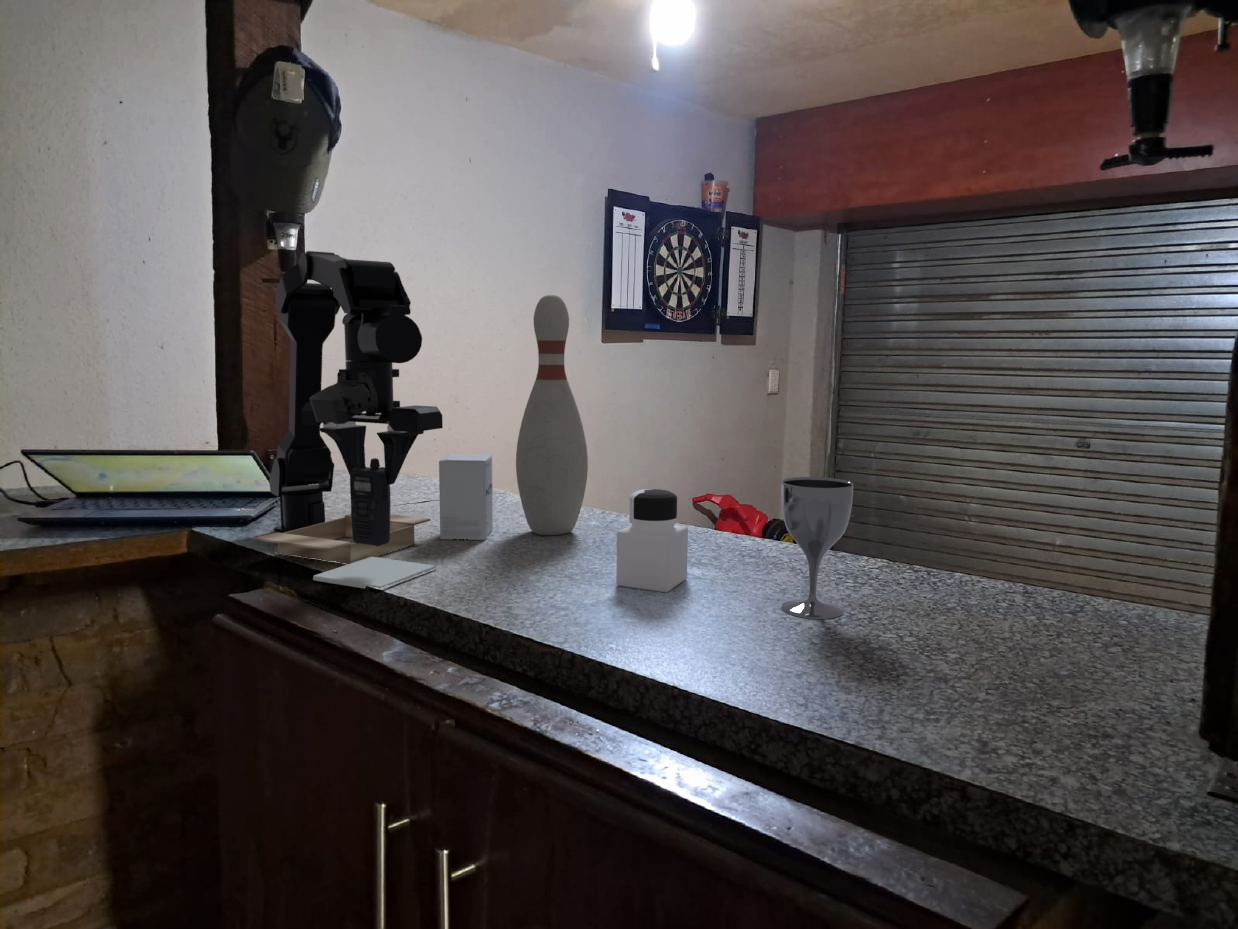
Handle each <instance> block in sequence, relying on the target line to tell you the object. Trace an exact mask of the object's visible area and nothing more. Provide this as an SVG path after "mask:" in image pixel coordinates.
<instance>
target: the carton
mask: <svg viewBox="0 0 1238 929" xmlns="http://www.w3.org/2000/svg"><path fill="white" fill-rule="evenodd" d="M431 520H432V519H431V518H428V517H427V518H426V517H418V516H410V515H400V514H393V513H390V541H389V542H388V543H387V544H383V545H380V546H375V545H367V544H360V543H358V544H356V543H354V542H352V543H351V541H345V540H344V541H343V540H338V539H341V538H344V537H348V538H353V536H352V519H351V513H349V514H345V515H344V516H343V517H340V518H336V519H332V520H328V521H325V522H324V523H320V524H316V525H312V526H308V527H304V528H300V529H296V530H292V531H288V532H280V531H275V532H273V533H269V534H265V535H261V536H256V537H254V541H258V542H260V541H261V542H265V543H273V544H277V554H278V553H281V554H286V555H297V556H301V557H307V558H316V559H321V560H326V561H336V562H340V563H346V564H351V563H354V562H357V561H360V560H363V559H366V558H369V557H377V556H379V557H381V556H380V555H382V556H385V555H387V554H386V553H388V554H390V553H389V552H391V551H394V552H397V551H399V550H398V549H400V550H402V549H401V548H404V549H407V548H409V547H408V546H410V545H413V544H415V526H417V525H421V524H424V523H428V522H430V521H431ZM340 537H341V538H340ZM337 538H338V539H337ZM415 545H416V544H415ZM413 546H414V545H413ZM406 547H407V548H406ZM410 547H411V546H410ZM396 550H397V551H396ZM391 553H392V552H391ZM384 554H385V555H384Z"/></svg>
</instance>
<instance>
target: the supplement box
mask: <svg viewBox="0 0 1238 929" xmlns="http://www.w3.org/2000/svg"><path fill="white" fill-rule="evenodd" d="M438 475H439V476H438V478H439V480H438V481H439V485H438V486H439V487H438V488H439V533H440V534H439V539H440V540H453V539H457V540H458V541H459V539H461V540H460V541H485V540H486V539H487V537H488V536H489V534H490V533H491V532H492V531H493V530H494V528H493V527H494V526H493V525H494V524H493V523H494V522H493V519H494V518H493V516H494V514H493V512H494V510H493V506H494V505H493V504H494V503H493V501H494V500H493V496H494V495H493V494H494V493H493V492H494V491H493V489H494V488H493V455H492V454H491V455H490V454H448V455H447V456H445V457H443V458H442V459H440V460H438ZM462 539H464V540H462ZM466 539H468V540H466ZM457 540H456V541H457Z"/></svg>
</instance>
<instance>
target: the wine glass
mask: <svg viewBox="0 0 1238 929" xmlns="http://www.w3.org/2000/svg"><path fill="white" fill-rule="evenodd" d="M853 498H854V482H852V481H849V480H846V479H841V478H840V479H839V478H832V477H820V476H798V477H797V476H796V477H795V476H794V477H788V478H784V479H782V481H781V508H782V509H781V510H782V516H783V519H784V520H783V521H784V524H785V527H786V531H787V532H788V534H789V535H790V537H792V539H793V540H794V542H796V544H797V545H798V546H799V548H800V549H801V550H802V552H803V554H804V556H805V558H806V561H807V564H808V573H809V574H808V575H809V592H808V593H809V594H808V597H807V598H806V599H794V600H789V601H786V602H784V603H782V605H781V606H780V608H781V610H782V611H783V612H784V613H786V614H788V615H791V616H794V617H797V618H798V617H799V618H802V619H810V620H811V619H812V620H829V619H835V618H838V617H841V616H843V615H844V614H845V613H844V609H843V607H841V606H839V605H837V604H834V603H831V602H828V601H823V600H819V599H818V597H817V584H818V575H819V570H820V564H821V562H822V560H823V558H824V557H825V555H826V554H827V552H828V551H829V550H830V549H831V548H832V547H833V546H834V545H835V544H836V543H837V542H838V541H839V539H841V538H842V536H843V535H844V534H845V532H846V530H847V528H848V525H849V522H850V518H851V512H852V507H853Z"/></svg>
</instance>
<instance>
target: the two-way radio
mask: <svg viewBox="0 0 1238 929" xmlns="http://www.w3.org/2000/svg"><path fill="white" fill-rule="evenodd" d="M365 450H366V448H365V443H364V434H363V430H362V429H359V430H357V467H356V468H354V469H352V471H351V473H350V475H349V487H350V488H349V491H350V493H349V494H350V514H351V519H352V536H353V537H352V541H353V543H356V544H358V543H360V544H367V545H375V546H380V545H383V544H387V543H388V542H389V541H390V514H391V484H390V485H389V484H387V482H386V475H385V466H381V465H380V460H379V458H377V457H375V458H371V459H370V461H369V462H370V463H369V466H368V467H367V466H366V453H365Z"/></svg>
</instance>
